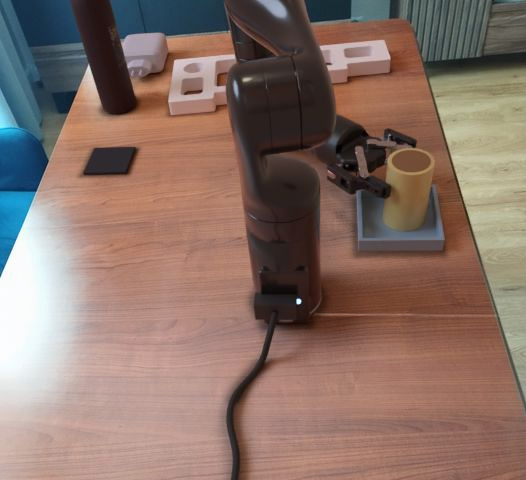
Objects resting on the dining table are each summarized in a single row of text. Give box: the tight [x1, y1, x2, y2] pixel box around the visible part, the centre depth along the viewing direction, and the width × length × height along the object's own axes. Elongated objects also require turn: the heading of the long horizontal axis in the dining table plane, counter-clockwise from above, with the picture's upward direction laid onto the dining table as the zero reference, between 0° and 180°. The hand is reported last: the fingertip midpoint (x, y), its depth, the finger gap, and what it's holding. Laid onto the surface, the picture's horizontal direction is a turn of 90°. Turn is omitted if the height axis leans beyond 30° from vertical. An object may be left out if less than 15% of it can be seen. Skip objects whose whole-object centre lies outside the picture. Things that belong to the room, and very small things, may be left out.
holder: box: [167, 39, 391, 116], centre depth 120 cm, size 45×18×3 cm, turn 91°
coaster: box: [82, 146, 137, 176], centre depth 108 cm, size 8×8×1 cm
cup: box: [382, 147, 436, 231], centre depth 87 cm, size 7×7×10 cm
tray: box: [356, 183, 446, 252], centre depth 89 cm, size 13×12×3 cm
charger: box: [122, 32, 169, 78], centre depth 128 cm, size 5×9×15 cm
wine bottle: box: [69, 0, 137, 115], centre depth 109 cm, size 7×7×30 cm
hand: (409, 179), depth 85 cm, fingers open, 8 cm apart
